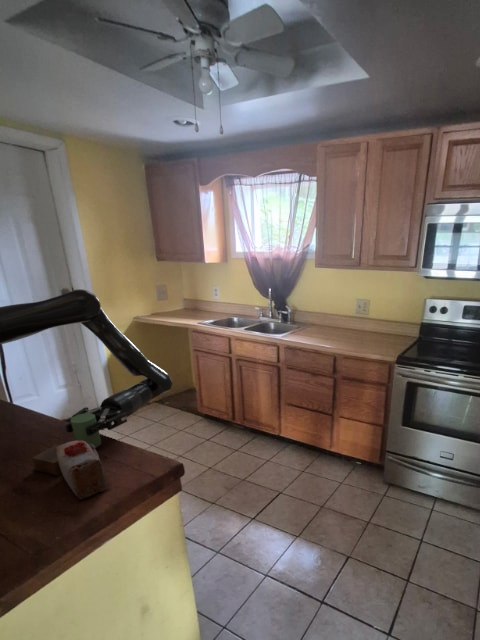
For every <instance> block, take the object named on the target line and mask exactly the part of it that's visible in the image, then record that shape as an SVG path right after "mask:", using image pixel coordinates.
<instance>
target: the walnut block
mask: <svg viewBox="0 0 480 640" xmlns="http://www.w3.org/2000/svg"><path fill="white" fill-rule="evenodd" d="M61 445H62V444H60V443H57V444H55V445H53V446H51V447H50V448H49V447H48V448H47V449H46V450H44V451H42V452H40V453H39V454H37V455H34V456H32V458H31V459H32V462H33V465H34V468H35V471H39V472H42V473H47V474H50V475H54V476H60V475H61V474H62V472H61V469H60V466H59V462H58V459H57V451H56V447H58V446H61Z"/></svg>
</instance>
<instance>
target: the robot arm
mask: <svg viewBox="0 0 480 640" xmlns="http://www.w3.org/2000/svg"><path fill="white" fill-rule="evenodd" d="M74 324H81V325H83V326H84V327H85V328H86V329H88V330H89V331H90V332H91V333H92V334H93V335H94V336H95V337H96V338H97V339H99V341H101V343H102V344H103V345H104V346H105V347H106V349H107V350H108V351H109V352H110V353H111V355H112V356H113V357H114V358H115V359H116V360H117V361H118V362H119V364H120V365H121V366H122V367H123V368H124V369H125V370H126V371H127V372H128V373H129V374H130V375H132V376H133V377H139V376H140V377H141V376H142V377H145V378H144V379H142V380H141V381H139V382H137V383H134V384H133V385H131V386H129V387H127V388H125V389H122V390H120V391H118V392H116V393H114V394H112V395H110V396H108V397H106V398H104V399H103V400H102V401H101V404H100V405H99V407H95V408H93V409H89V407H87V406H85V407H83V408H82V409H80V410H79V411H77V412H76V413H74V414H73V415H72V416H71V418H73V417H74V416H76V415H79V414H84V413H92V414H94V415H95V417H96V423H94V424H92V425H90V426H89V427H87V428H86V433H87V435H88V436H91V435H93V434H95V433H96V432H98V431H99V432H100V431H105V430H106V429H107V431H112V430H114V429H115V428H117V427H119V426H121V425H124V424H125V423H127V422H128V417H131V416H132V415H133V414H135V413H136V412H137V411H139V410H140V409H141V408H143V407H144V406H146V405H147V404H149V403H150V402H151V400H153V399H155V398H157V397H159V396H161V395H163V394H165V393H168V392H170V390H171V389H172V388H173V385H174V384H173V380H172V377H171V376H170V374H169V373H168V372H166V371H165V369H162V368H161V367H159V366H158V365H157V364H155V363H154V362H152V361H151V360H149V359H148V358H147V357H146V356H145V355H144V354H143V353H142V352H141V350H140V349H139V348H138V347H137V345H135V344H134V343H133V342H132V341H131V340H130V339H129V338H128V337H127V336H126V335H124V334H123V332H121V330H119V328H117V326H116V325H115V324H114V323H113V322H112V321H111V319H110V318H109V317H108V316H107V314H106V312H105V311H104V309H102V305H101V302H100V300H99V298H98V297H97V296H96V294H94V293H93V292H91V291H90V290H86V289H80V288H79V289H78V288H77V289H74V290H70V291H69V292H66V293H63V294H60V295H58V296H54V297H50V298H47V299H44V300H39V301H35V302H26V303H17V304H9V305H4V306H3V305H2V306H0V345H1V346H2V345H4V344H8V343H12V342H15V341H19V340H22V339H25V338H28V337H31V336H33V335H37V334H38V333H41V332H44V331H46V330H49V329H52V328H56V327H61V326H68V325H74ZM112 423H113V424H112ZM65 430H66V432H67V433H72V432H73V428H72V425H71V421H70V422H69V423H66V424H65Z"/></svg>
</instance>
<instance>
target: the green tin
mask: <svg viewBox="0 0 480 640" xmlns="http://www.w3.org/2000/svg"><path fill="white" fill-rule="evenodd" d="M70 422H71V425H72V428H73V431H72V432H73V436H74V439H75V441H86V443H88V444H93V445H94V446H95V447H96V448H98V447H99V446H101V444H102V438H101V435H99V434H100V431H98V432H96V433H95V434H93V435H91V436H88V435H87V433H86V428H87V427H89V426H90V425H92V424H94V423H96V417H95V415H94V414H92V413H84V414H79V415H76V416H74V417H71V418H70Z"/></svg>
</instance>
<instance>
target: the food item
mask: <svg viewBox="0 0 480 640" xmlns="http://www.w3.org/2000/svg"><path fill="white" fill-rule="evenodd" d="M96 448H97V447H95V446H94V445H93V444H88V443H86V441H76V440H72V441H67V442H65V443H63V444H61V446H58V447H56V451H57V459H58V462H59V466H60V469H61V472H62V473H61V474H62V476H63V479H64V480H65V482H66V483H67V485H68V486H69V488H70V489H71V491H72V493H74V495H75V496H76V497H77V498H78V499H79V500H82V499H86V498H89V497H91V496H93V495H96V494H98V493H102V492H104V491H105V490H107V487H108V482H107V479H106V478H107V477H106V474H105V470H104V466H103V463H102V460H101V458H100V456H99V453H98V452H97V450H96Z"/></svg>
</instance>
